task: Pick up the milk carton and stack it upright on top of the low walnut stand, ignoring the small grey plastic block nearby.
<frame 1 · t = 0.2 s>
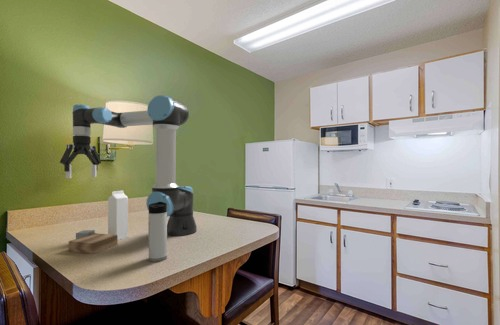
hand: (81, 177, 128), 28 cm above the table, fingers open, 13 cm apart
travel mug: (158, 258, 91), on the table
stand: (94, 247, 104), on the table
grey block: (85, 243, 110), on the table
milk: (118, 238, 117), on the table
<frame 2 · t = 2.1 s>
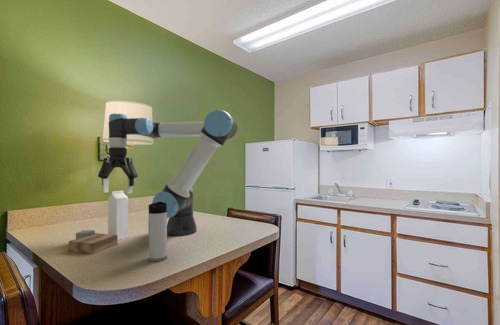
hand: (117, 193, 118), 21 cm above the table, fingers open, 13 cm apart
nothing on the table moved.
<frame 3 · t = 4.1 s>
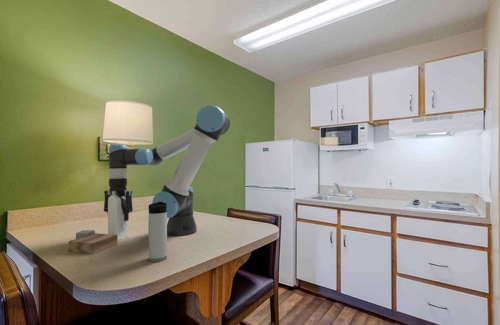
hand: (118, 227, 117), 5 cm above the table, fingers closed on milk, 7 cm apart
milk: (118, 238, 117), on the table, touching gripper
everything else where it was.
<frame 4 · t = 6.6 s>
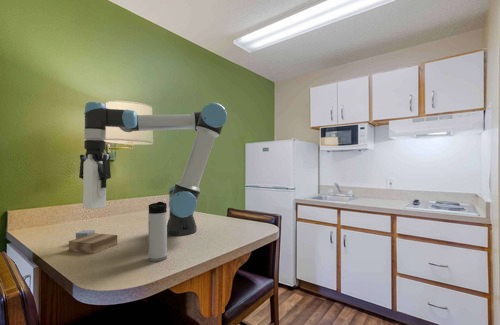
hand: (94, 195, 105), 21 cm above the table, fingers closed on milk, 7 cm apart
milk: (94, 208, 105), point 16 cm above the table, touching gripper
everything else where it was.
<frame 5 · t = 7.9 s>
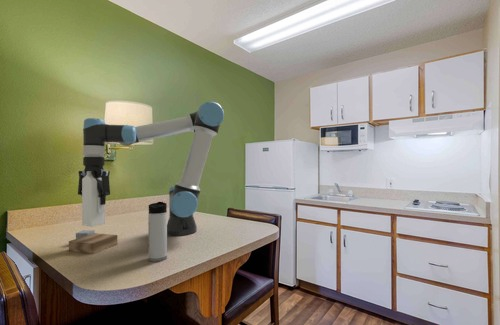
hand: (93, 212, 104), 15 cm above the table, fingers closed on milk, 7 cm apart
milk: (93, 224, 104), point 9 cm above the table, touching gripper
everything else where it was.
when the fingers open (10 cm above the table, at t = 9.1 s): milk stays where it is, resting on stand.
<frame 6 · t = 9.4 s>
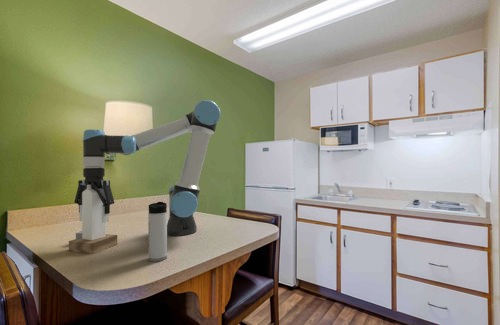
hand: (94, 221, 104), 11 cm above the table, fingers open, 10 cm apart
milk: (94, 238, 104), point 4 cm above the table, touching stand
everything else where it was.
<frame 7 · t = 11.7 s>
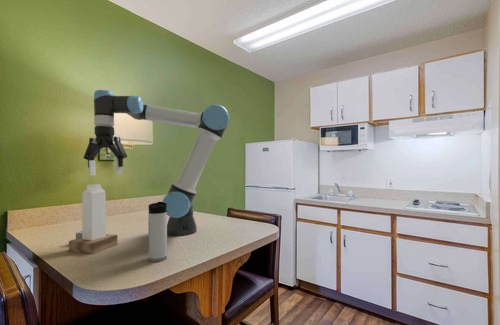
hand: (105, 174, 111), 30 cm above the table, fingers open, 13 cm apart
nothing on the table moved.
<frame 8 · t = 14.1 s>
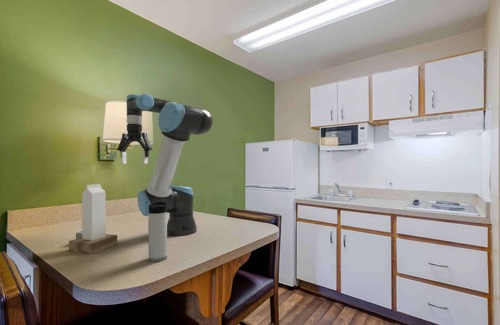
hand: (134, 163, 136), 35 cm above the table, fingers open, 13 cm apart
nothing on the table moved.
at the end: milk inside the target area on the stand (0.1 cm from its centre), point 3.8 cm above the stand's base; milk tilted 0°; the gripper is holding nothing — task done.
